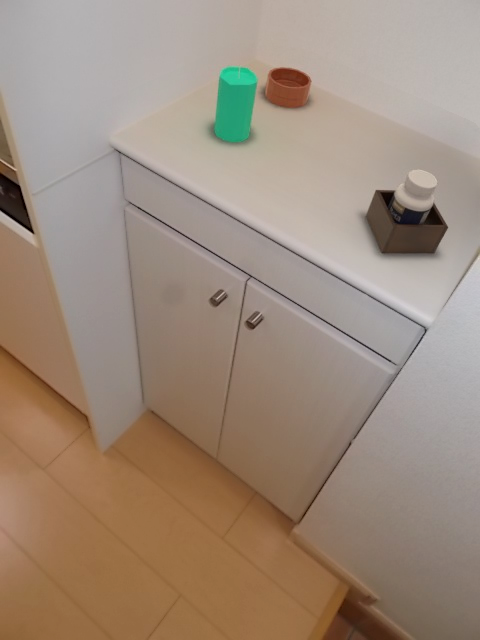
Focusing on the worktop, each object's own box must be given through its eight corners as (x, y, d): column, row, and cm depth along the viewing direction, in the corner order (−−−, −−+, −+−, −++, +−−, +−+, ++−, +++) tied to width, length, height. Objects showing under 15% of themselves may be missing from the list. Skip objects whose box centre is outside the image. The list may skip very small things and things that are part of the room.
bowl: (301, 91, 103) (306, 68, 99) (309, 113, 98) (315, 89, 94) (261, 89, 101) (265, 66, 98) (268, 110, 96) (272, 87, 93)
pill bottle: (372, 235, 76) (396, 178, 68) (387, 217, 79) (411, 161, 71) (406, 252, 74) (434, 195, 67) (420, 233, 77) (448, 177, 70)
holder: (413, 221, 80) (427, 190, 76) (431, 257, 75) (448, 227, 71) (363, 220, 78) (375, 189, 74) (379, 257, 73) (393, 226, 69)
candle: (223, 123, 91) (231, 52, 82) (254, 135, 90) (265, 64, 81) (207, 138, 88) (213, 66, 78) (239, 150, 86) (249, 78, 77)
